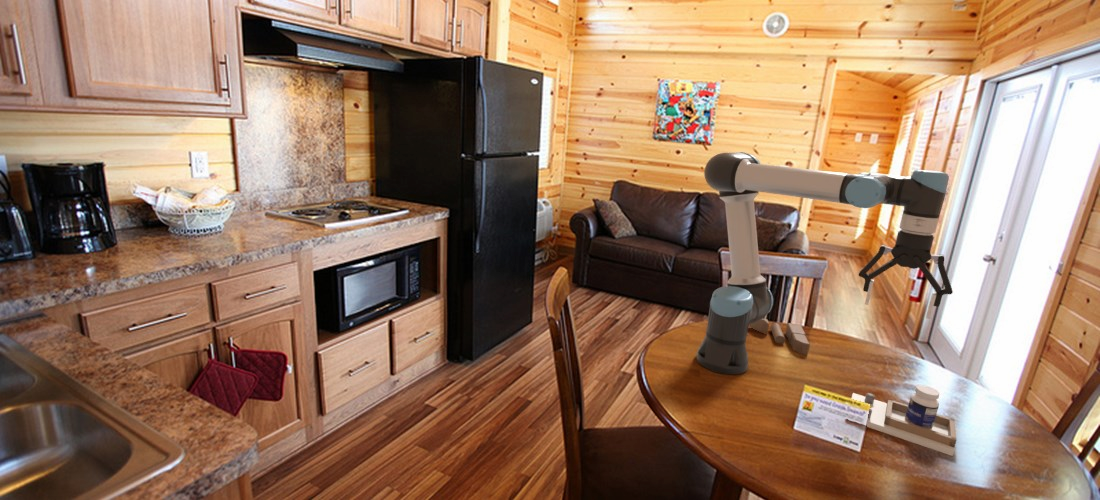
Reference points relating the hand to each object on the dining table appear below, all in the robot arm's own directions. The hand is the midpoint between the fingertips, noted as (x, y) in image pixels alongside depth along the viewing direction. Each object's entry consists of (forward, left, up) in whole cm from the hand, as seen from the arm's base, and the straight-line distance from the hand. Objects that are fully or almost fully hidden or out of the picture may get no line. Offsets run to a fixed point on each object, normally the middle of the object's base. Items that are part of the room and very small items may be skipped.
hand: (896, 310), depth 133 cm
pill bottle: (+10, -10, -25) cm, 29 cm away
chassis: (+6, -10, -27) cm, 29 cm away
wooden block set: (-31, +24, -27) cm, 48 cm away
